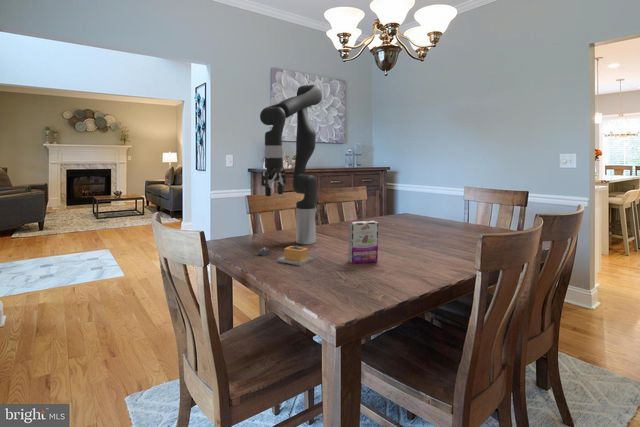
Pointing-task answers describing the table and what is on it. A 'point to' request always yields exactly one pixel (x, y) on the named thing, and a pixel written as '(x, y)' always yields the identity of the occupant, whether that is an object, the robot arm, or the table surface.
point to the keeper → (295, 262)
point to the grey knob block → (264, 252)
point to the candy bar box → (363, 242)
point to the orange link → (296, 253)
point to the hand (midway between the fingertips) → (274, 195)
